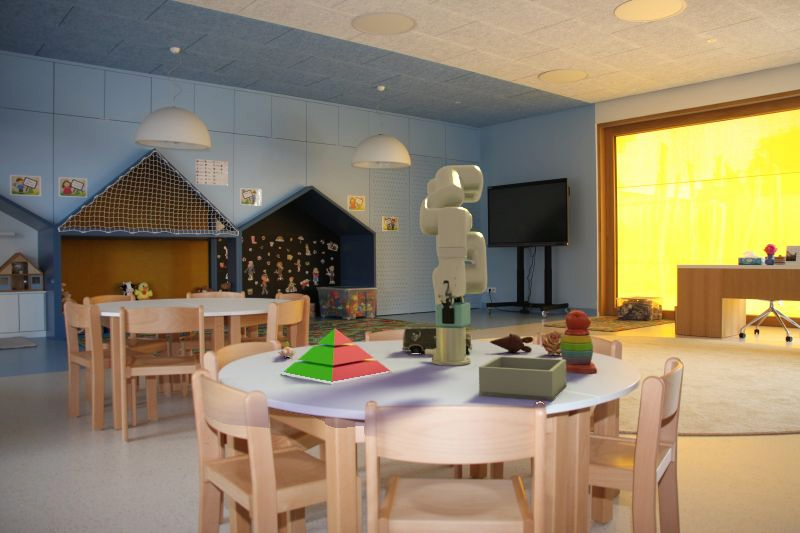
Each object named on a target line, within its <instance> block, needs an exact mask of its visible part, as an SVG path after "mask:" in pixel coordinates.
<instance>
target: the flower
mask: <svg viewBox="0 0 800 533" xmlns="http://www.w3.org/2000/svg"><path fill="white" fill-rule="evenodd" d="M563 334H564V332H562V331H561V332H560V331H557V330H555V329H554V330H551V331H550V332H547V333H546V332H545V333H543V334H541V336H540V337H541V339H540V340H541V347H543V348H544V350H545V351H546V352H547V354H546V356H548V355H553V354H555V355H558V356H561V341H562V336H563Z"/></svg>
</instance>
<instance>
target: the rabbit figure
mask: <svg viewBox="0 0 800 533" xmlns="http://www.w3.org/2000/svg"><path fill="white" fill-rule="evenodd" d="M295 353H297V351H296V350H295V351H294V349H293V348H292V347H290V343H289V341H286V342H285V344H284V348H282V350H281V351H278V354H279V355H280V357H282V356H285V357H288V356H289V357H290V356H292V357H293V356H294V355H295ZM285 357H284V358H285ZM290 358H291V357H290Z"/></svg>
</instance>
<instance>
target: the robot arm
mask: <svg viewBox="0 0 800 533" xmlns="http://www.w3.org/2000/svg"><path fill="white" fill-rule="evenodd" d="M483 188H484V175H483V171H482V170H481V169H480V167H479V166H477V165H475V164H474V165H473V164H465V165H464V164H463V165H462V164H461V165H459V164H458V165H454V164H453V165H445V166H443V167H441V168H439V169H438V170H437V172H436V173H435V177H434V178H432V179H430V180H429V181H428V182H427V186H426V192H427V196H426V197H425V198H424V199H423V200H422V202H421V205H420V210H419V227H420V230H421V232H422V234H424V236H425V235H426V236H428V237H435V242H436V243H435V244H436V245H435V246H436V255H437V258H438V259H437V260H438V266H436V267H435V268H434V269H433V272H432V277H431V278H432V285H433V291H434V299H435V300H434V301H435V306H436V304H440V303H442V305H441V307H442V323H443V324H454V323H455V320H454V308H453V303H454V302H455V303H465V295H469V294H470V295H474V294H475V295H476V294H483V293H484V292H485V291H486V290H487V286H488V267H487V266H488V265H487V247H486V239H485V237H484V235H483V234H482V233H481V232H479V231H471V230H472V228H473V215H472V214H471V213H470V211H469V210H468V209H467V208H464V207H462V205H463V204H464V203H467V204H468V203H477V202H478V201H480V199H481V197H482V192H483ZM465 262H471V263H470V264H469V263H467V264H466V263H465ZM466 328H467V327H465V328H462V329H461V328H436V348H435V349H426V350H425V351H424V355H425V356H432V358H431V363H432V364H434V365H440V366H462V365H463V366H464V365H468V364H471V362H472V359H471V358H470V357H467V354H466V334H467V332H466Z"/></svg>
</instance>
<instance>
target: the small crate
mask: <svg viewBox="0 0 800 533" xmlns="http://www.w3.org/2000/svg"><path fill="white" fill-rule="evenodd" d="M441 305H442V303H440V304H436V305H435V324H436V328H461V329H462V328H468V327H470V326H471V324H472V323H471V302H464V303H455V302H454V303H453V308H454V320H455V323H454V324H443V323H442V307H441Z"/></svg>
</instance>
